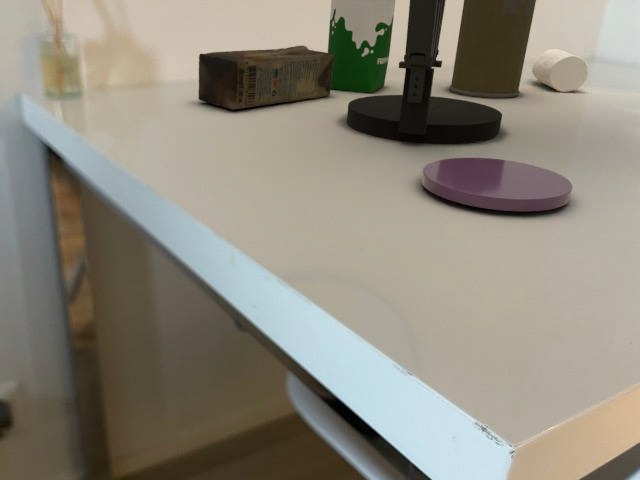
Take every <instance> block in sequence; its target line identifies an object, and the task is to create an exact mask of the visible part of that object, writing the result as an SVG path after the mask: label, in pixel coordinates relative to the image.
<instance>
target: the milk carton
mask: <svg viewBox="0 0 640 480" xmlns="http://www.w3.org/2000/svg"><path fill="white" fill-rule="evenodd" d="M395 6H396V0H330V13H329V29H328V42H327V43H328V44H327V53H330V54H333V55H334V62H333V77H332V85H331V90H338V91H339V90H340V91H349V92H358V93H368V94H372V93H374V92H376V91H379V90H380V89H382V88H383V87H385V83H386V82H385V81H386V77H387V71H388V67H389V66H388V65H389V59H390V51H391V44H392V43H391V42H392V35H393V26H394V17H395V8H396V7H395Z"/></svg>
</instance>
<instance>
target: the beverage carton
mask: <svg viewBox="0 0 640 480" xmlns="http://www.w3.org/2000/svg"><path fill="white" fill-rule="evenodd" d="M333 62H334V55H333V54H330V53H328V52H326V51H318V50H313V49H309V48H308V46H306V45H294V46H290V47H286V48H285V47H280V48H271V49H248V50H232V51H228V50H227V51H214V52H207V53H199V55H198V100H199V101H202V102H204V103H208V104H211V105H214V106H215V105H216V106H218V107H222V108H226V109H229V110H241V109H247V108H253V107H263V106H266V105H267V106H269V105H275V104H282V103H288V102H289V103H290V102H295V101H302V100H309V99H316V98H323V97H324V98H325V97H329V96H330V95H331V90H332V89H331V85H332V77H333Z"/></svg>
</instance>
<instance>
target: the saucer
mask: <svg viewBox="0 0 640 480" xmlns="http://www.w3.org/2000/svg"><path fill="white" fill-rule="evenodd" d="M421 185H422V186H423V187H424V188H425V189H426V190H427V191H429V192H430V193H432V194H434V195H436V196H438V197H441V198H443V199H445V200H448V201H451V202H454V203H458V204H462V205H465V206H469V207H476V208H480V209H486V210H487V209H488V210H495V211H505V212H542V211H549V210H550V211H551V210H554V209H558V208H561V207H563V206H565V205H567V204H568V203H569V202H570V200H571V197H572V192H573V184H572V182H571V181H570V180H569V179H568V178H567V177H565V176H563V175H562V174H560V173H558V172H555V171H552V170H549V169H547V168H544V167H541V166H537V165H534V164H528V163H524V162H520V161H515V160H508V159H500V158H490V157H452V158H451V157H450V158H444V159H439V160H434V161H432V162H429V163H427V164H426V165H424V167H423V170H422V174H421Z"/></svg>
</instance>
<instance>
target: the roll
mask: <svg viewBox="0 0 640 480" xmlns="http://www.w3.org/2000/svg"><path fill="white" fill-rule="evenodd" d="M531 68H532V70H531V73H532V75H533V76H534V78H535V79H536V80H537V81H539V82H540V83H542V84H543V85H545V86H548V87H550V88H552V89H554V90H556V91H558V92H561V93H568V92H572V91H575V90H577V89H579V88H580V87H582V86H583V85H584V83H585V82H586V80H587V77H588V74H589V71H588V70H589V68H588V65H587V63H586V62H585V61H584V60H583V58H581V57H580V56H577V55H574V54H572V53H570V52H567V51H566V50H563V49H562V50H561V49H558V48H557V49H556V48H554V49H548V50H547V49H546V50H545V51H544V52H542V53H541V54H540V55H539V56H538V57H537V58H536V59H535V60H534V63H533V65H532V67H531Z"/></svg>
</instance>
